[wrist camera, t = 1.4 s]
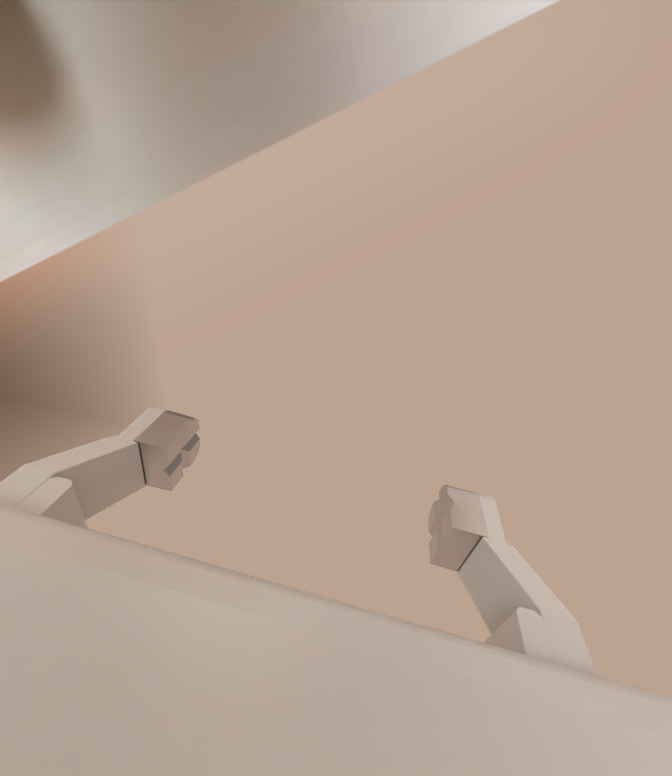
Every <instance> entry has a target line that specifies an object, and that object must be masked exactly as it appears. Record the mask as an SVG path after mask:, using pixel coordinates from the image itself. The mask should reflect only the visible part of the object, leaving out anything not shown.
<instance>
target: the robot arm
mask: <svg viewBox="0 0 672 776" xmlns="http://www.w3.org/2000/svg"><path fill="white" fill-rule="evenodd" d="M198 429H199V421H198V420H197V419H196V418H193V417H189V416H186V415H182V414H179V413H176V412H172V411H169V410H164V409H161V408H158V407H150V408H148V409H147V410H146V411H145V412H144V413H143V414H142V415H141V416H139V417H138V418H137V419H136V420H135V421H134V422H133V423H132V424H131V425H130V426H129V427H127V428H126V429H125V430H124V431H123V432H122V433H121V434H120V435H118V436H117V437H116V436H110V437H107V438H104V439H101V440H98V441H95V442H92V443H89V444H86V445H83V446H80V447H77V448H74V449H70V450H68V451H64V452H62V453H58V454H55V455H52V456H50V457H47V458H44V459H40V460H37V461H35V462H31V463H28V464H25V465H23V466H22V467H21V468H19V469H18V470H17V471H15V472H14V473H12V474H11V475H10V476H8V477H7V478H6V479H5V480H3V481H2V482H1V483H0V776H672V697H670V696H667V695H664V694H660V693H656V692H653V691H650V690H646V689H642V688H639V687H636V686H632V685H628V684H625V683H622V682H618V681H615V680H611V679H608V678H605V677H601V676H597V675H596V672H595V669H594V666H593V664H592V661H591V658H590V655H589V653H588V650H587V647H586V645H585V642H584V639H583V636H582V634H581V631H580V628H579V626H578V623H577V621H576V620H575V619H574V617H573V616H572V615H571V614H570V613H569V612H568V610H567V609H566V608H565V607H564V606H563V605H562V603H561V602H560V601H559V600H558V599H557V597H556V596H555V595H554V594H553V593H552V592H551V590H550V589H549V588H548V587H547V586H546V585H545V584H544V582H543V581H542V580H541V579H540V578H539V577H538V575H537V574H536V573H535V572H534V571H533V569H532V568H531V567H530V566H529V565H528V564H527V562H526V561H525V560H524V559H523V558H522V557H521V555H520V554H519V553H518V552H517V551H516V549H515V548H514V547H513V546H512V545H511V544H508V543H506V540H505V536H504V532H503V528H502V525H501V521H500V517H499V513H498V510H497V506H496V502H495V499H494V498H493V497H491V496H487V495H483V494H480V493H475V492H471V491H467V490H463V489H460V488H455V487H452V486H448V485H444V486H443V487H442V488H441V490H440V492H439V498H440V499H439V500H437V501H435V502H434V503H433V506H432V508H431V510H430V515H429V524H428V527H429V532H430V534H431V535H432V537H433V538H432V539H431V541H430V543H429V548H430V563H431V564H434V565H437V566H440V567H444V568H447V569H450V570H454V571H457V572H458V575H459V577H460V579H461V581H462V582H463V584H464V586H465V588H466V590H467V591H468V593H469V595H470V597H471V599H472V600H473V602H474V604H475V606H476V607H477V609H478V611H479V613H480V614H481V616H482V618H483V620H484V622H485V624H486V625H487V627H488V629H489V631H490V633H491V634H492V635H491V636H490V637H489V638H488V639H487V640H486V641H485V642H484V643H483V642H480V641H476V640H473V639H469V638H466V637H462V636H459V635H455V634H452V633H448V632H445V631H442V630H438V629H435V628H431V627H428V626H424V625H421V624H418V623H414V622H411V621H407V620H403V619H400V618H397V617H393V616H390V615H386V614H383V613H379V612H376V611H372V610H369V609H365V608H361V607H358V606H355V605H352V604H348V603H345V602H341V601H338V600H334V599H331V598H327V597H324V596H320V595H317V594H313V593H310V592H306V591H303V590H299V589H296V588H292V587H289V586H286V585H282V584H278V583H275V582H272V581H268V580H265V579H261V578H258V577H254V576H251V575H248V574H243V573H241V572H237V571H234V570H230V569H227V568H223V567H220V566H216V565H213V564H209V563H206V562H203V561H199V560H196V559H192V558H189V557H185V556H182V555H178V554H175V553H171V552H168V551H164V550H161V549H158V548H154V547H151V546H147V545H144V544H140V543H136V542H133V541H130V540H126V539H123V538H119V537H116V536H112V535H109V534H105V533H102V532H98V531H95V530H92V529H88V527H87V524H86V521H85V520H86V519H88V518H90V517H91V516H93V515H95V514H96V513H98V512H100V511H102V510H104V509H106V508H107V507H109V506H111V505H113V504H114V503H116V502H118V501H120V500H122V499H123V498H125V497H127V496H129V495H130V494H132V493H134V492H136V491H138V490H139V489H141V488H143V487H145V485H149V486H153V487H158V488H161V489H165V490H170V491H172V489H173V488H174V487H175V485H176V484H177V483H178V482H179V480H180V479H181V478H182V476H183V469H184V468H186V467H188V466H190V465H191V464H192V463H193V461H194V460H195V458H196V456H197V453H198V451H199V446H200V438H199V437H198V435H197V434H196V432H197V430H198Z"/></svg>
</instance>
